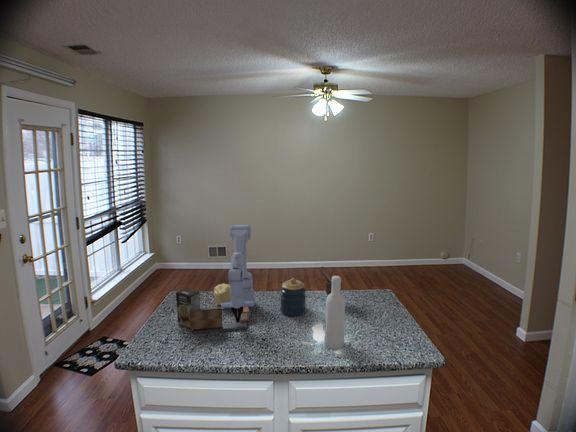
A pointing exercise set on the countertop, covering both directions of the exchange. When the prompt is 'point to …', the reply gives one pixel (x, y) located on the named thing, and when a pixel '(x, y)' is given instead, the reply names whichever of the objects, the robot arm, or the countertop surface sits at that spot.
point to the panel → (205, 318)
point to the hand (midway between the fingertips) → (237, 321)
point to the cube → (245, 314)
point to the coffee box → (186, 305)
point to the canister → (293, 298)
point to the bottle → (335, 316)
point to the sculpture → (222, 293)
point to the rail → (222, 328)
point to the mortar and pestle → (328, 281)
